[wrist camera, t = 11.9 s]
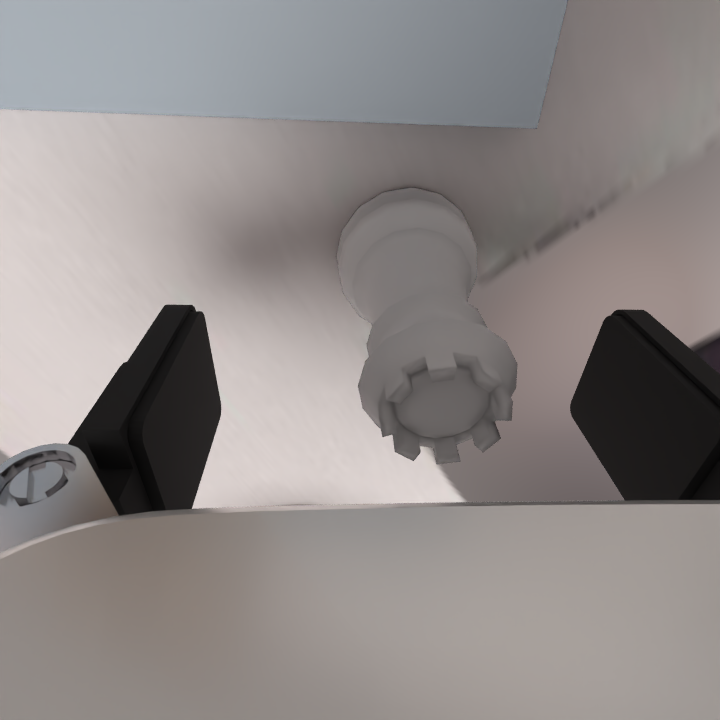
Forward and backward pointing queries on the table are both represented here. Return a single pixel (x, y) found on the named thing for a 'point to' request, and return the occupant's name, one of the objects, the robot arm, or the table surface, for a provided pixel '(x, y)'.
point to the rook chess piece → (424, 326)
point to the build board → (284, 59)
